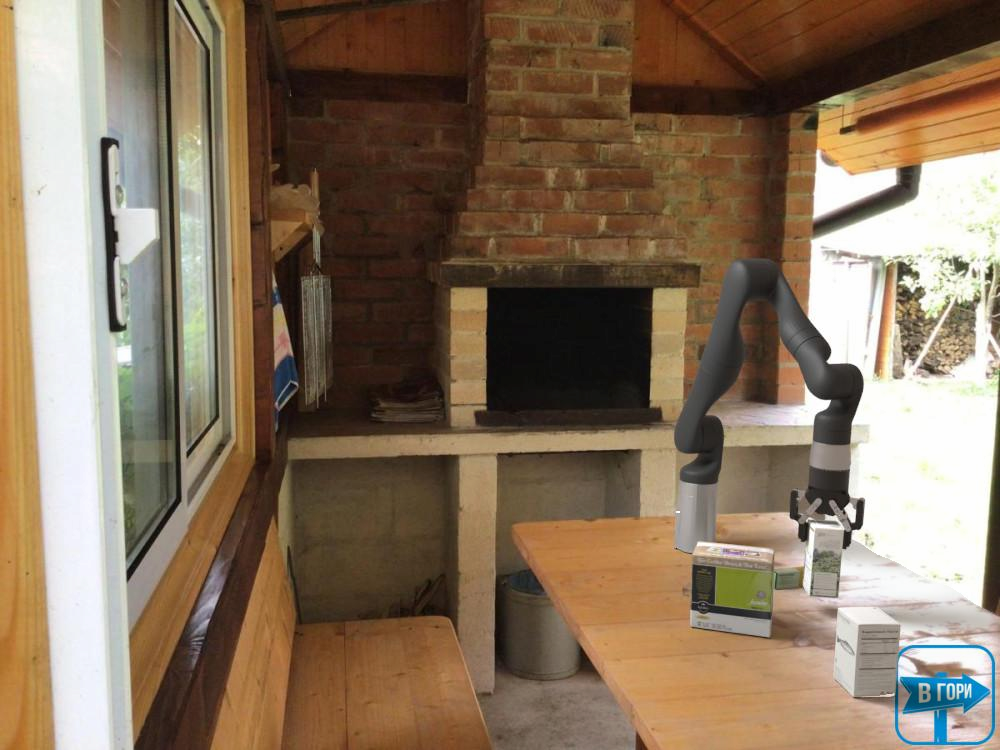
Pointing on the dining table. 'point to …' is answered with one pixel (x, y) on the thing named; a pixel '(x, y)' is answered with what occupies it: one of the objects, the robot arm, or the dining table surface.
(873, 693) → the supplement box
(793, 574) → the medication box
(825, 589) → the syrup box
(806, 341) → the robot arm
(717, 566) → the tea box
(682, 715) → the dining table surface
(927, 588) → the dining table surface
